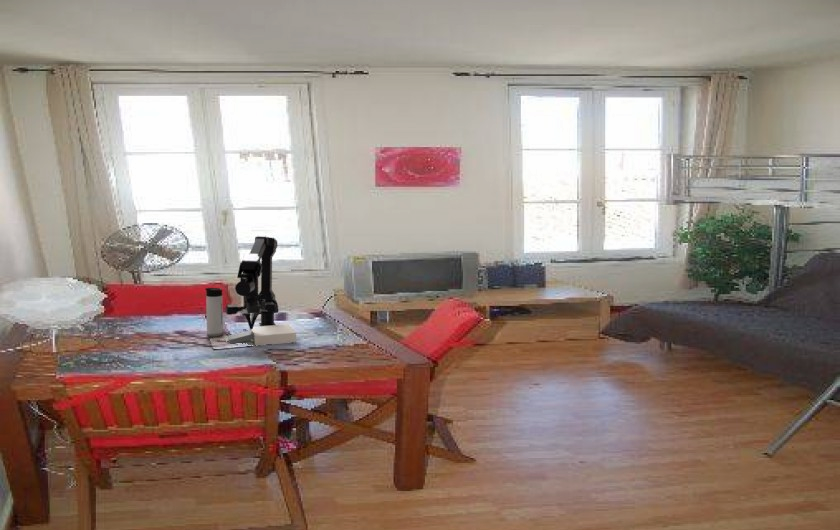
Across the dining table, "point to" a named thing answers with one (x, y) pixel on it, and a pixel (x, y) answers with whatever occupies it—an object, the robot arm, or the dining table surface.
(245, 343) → the mat
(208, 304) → the travel mug
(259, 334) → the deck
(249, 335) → the grey rectangular block
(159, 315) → the dining table surface
